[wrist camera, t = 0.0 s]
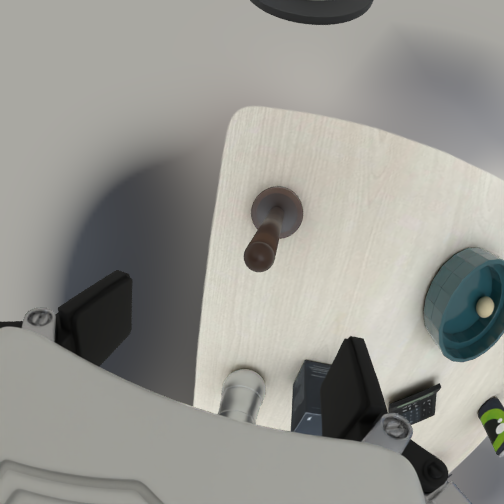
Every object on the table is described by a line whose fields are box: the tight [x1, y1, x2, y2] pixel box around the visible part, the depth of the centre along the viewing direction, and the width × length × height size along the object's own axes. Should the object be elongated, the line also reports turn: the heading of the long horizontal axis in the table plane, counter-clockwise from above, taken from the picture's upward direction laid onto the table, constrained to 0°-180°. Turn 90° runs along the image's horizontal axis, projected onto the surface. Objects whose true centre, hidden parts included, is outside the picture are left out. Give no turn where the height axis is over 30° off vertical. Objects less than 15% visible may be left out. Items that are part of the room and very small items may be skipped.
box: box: [291, 360, 331, 436], centre depth 32 cm, size 8×6×11 cm
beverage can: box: [478, 398, 504, 457], centre depth 28 cm, size 6×6×15 cm
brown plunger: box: [244, 186, 303, 272], centre depth 23 cm, size 6×6×19 cm
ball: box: [476, 296, 494, 318], centre depth 28 cm, size 3×3×3 cm
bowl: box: [424, 248, 504, 362], centre depth 28 cm, size 15×15×6 cm
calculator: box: [389, 383, 441, 425], centre depth 36 cm, size 9×12×3 cm
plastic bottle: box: [218, 369, 266, 424], centre depth 30 cm, size 6×7×20 cm
